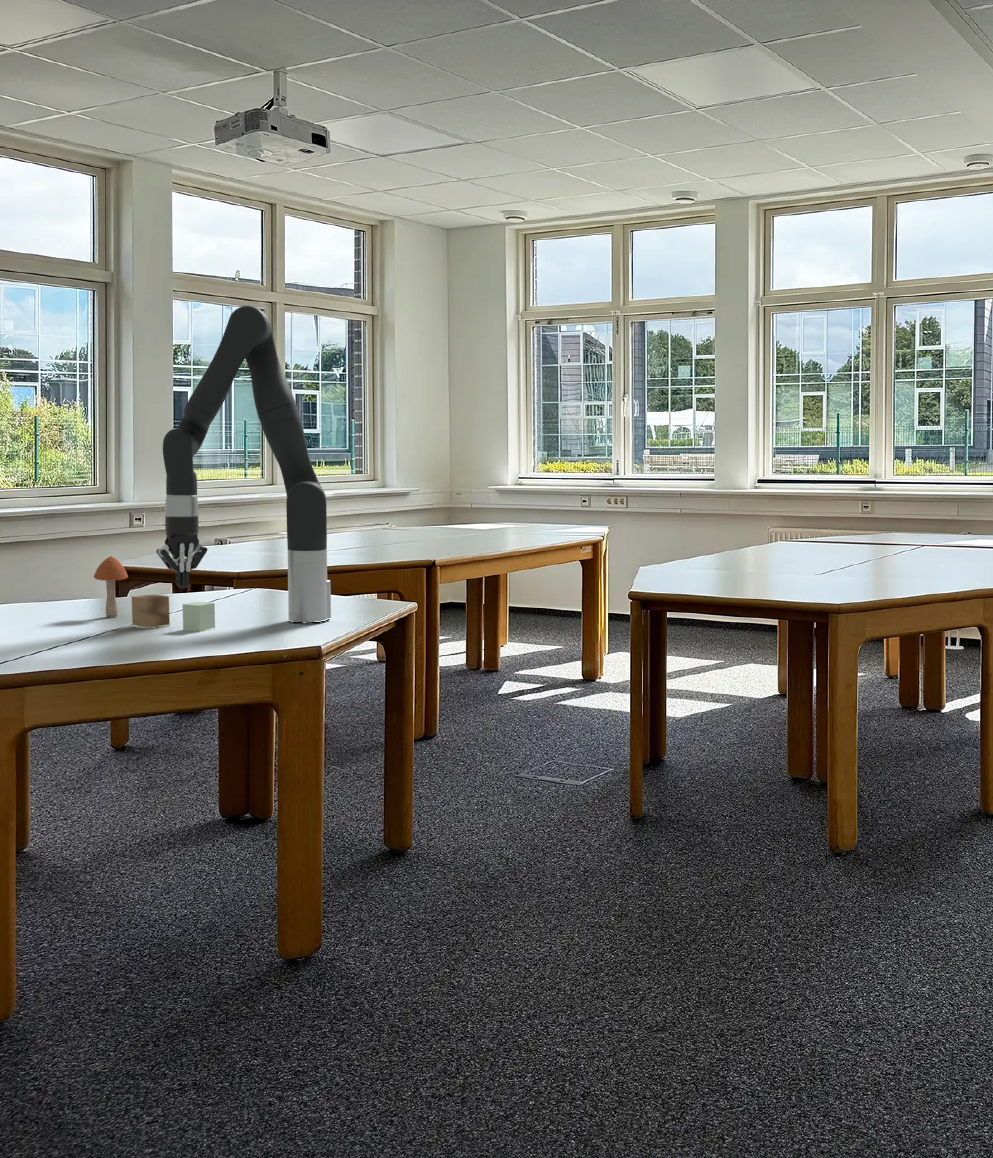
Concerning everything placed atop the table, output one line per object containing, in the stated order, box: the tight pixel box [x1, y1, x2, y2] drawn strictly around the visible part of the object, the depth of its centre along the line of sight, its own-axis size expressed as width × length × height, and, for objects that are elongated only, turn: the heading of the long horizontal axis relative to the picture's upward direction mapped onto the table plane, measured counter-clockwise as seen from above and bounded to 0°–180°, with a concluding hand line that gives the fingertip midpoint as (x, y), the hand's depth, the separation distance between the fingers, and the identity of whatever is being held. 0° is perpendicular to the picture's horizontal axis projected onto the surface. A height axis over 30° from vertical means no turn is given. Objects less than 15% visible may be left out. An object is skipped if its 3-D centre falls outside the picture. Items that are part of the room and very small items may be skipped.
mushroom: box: [93, 555, 129, 619], centre depth 286 cm, size 8×8×15 cm
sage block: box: [182, 601, 216, 633], centre depth 269 cm, size 5×5×6 cm
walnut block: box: [131, 593, 171, 630], centre depth 273 cm, size 6×6×7 cm
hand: (182, 587), depth 279 cm, fingers closed
